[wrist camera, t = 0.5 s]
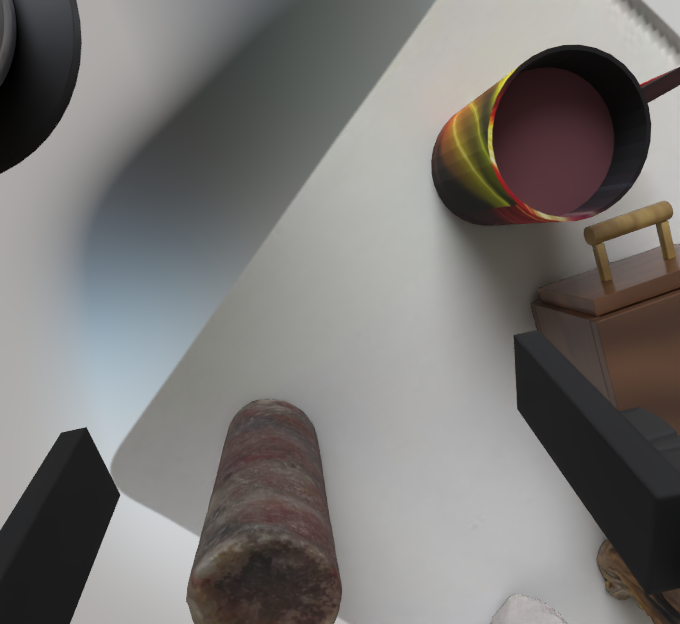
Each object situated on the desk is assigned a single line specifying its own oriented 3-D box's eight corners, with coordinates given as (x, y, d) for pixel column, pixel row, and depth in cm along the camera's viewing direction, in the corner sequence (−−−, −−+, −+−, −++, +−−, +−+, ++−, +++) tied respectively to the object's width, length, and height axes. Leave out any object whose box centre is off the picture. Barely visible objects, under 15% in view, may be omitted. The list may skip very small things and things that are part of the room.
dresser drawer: (524, 238, 41) (577, 239, 34) (656, 193, 42) (738, 184, 34) (580, 447, 44) (640, 492, 37) (702, 404, 45) (786, 438, 37)
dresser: (529, 303, 43) (596, 322, 34) (669, 255, 43) (773, 260, 34) (574, 469, 46) (647, 530, 36) (705, 422, 46) (812, 470, 37)
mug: (605, 109, 41) (731, 58, 29) (499, 249, 42) (579, 255, 30) (515, 28, 40) (608, -60, 28) (406, 176, 41) (453, 152, 29)
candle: (326, 401, 43) (354, 543, 23) (313, 484, 44) (330, 689, 24) (232, 390, 42) (178, 528, 22) (222, 475, 43) (161, 680, 23)
